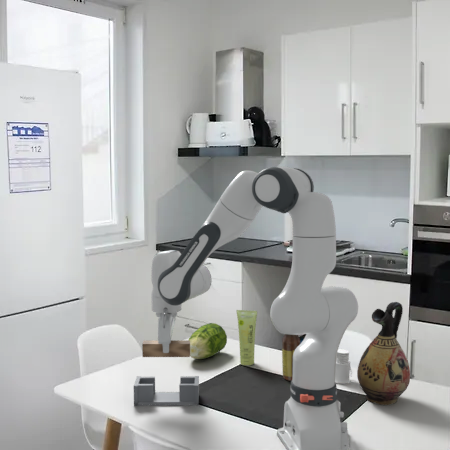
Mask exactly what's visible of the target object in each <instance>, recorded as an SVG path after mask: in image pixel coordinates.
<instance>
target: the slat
mask: <svg viewBox="0 0 450 450" xmlns="http://www.w3.org/2000/svg"><path fill="white" fill-rule="evenodd" d="M141 345H142V346H141V347H142V358H190V340H189V339H188V340H183V339H182V340H173V339H171V343H170V344H169V353H163V345H162V344H159V343H158V339H157V340H153V339H152V340H145V339H144V340H143V341H142V344H141Z"/></svg>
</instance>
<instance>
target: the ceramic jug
mask: <svg viewBox="0 0 450 450" xmlns="http://www.w3.org/2000/svg"><path fill="white" fill-rule="evenodd" d="M403 311H404V310H403V305H402V304H401V303H400V302H398V301H394V302H393V301H392V302H390V303H388V304H387V306H386V308H385V310H382V309H381V308H376V309H375V310H374V311H373V312H372V314H371V320H372V321H373V322H374V323H376V324H378V325H380V326H381V329H380V331H379V332H378V334H377V335H376V336H375V337H374V338H373V339H372V341H371V342H370V343H369V345H368V346H367V347H366V349H365V350H364V352H363V353H362V356H361V357H360V359H359V361H358V362H359V363H358V365H357V371H356V372H357V375H356V376H357V381H358V384H359V386H360V388H361V390H362V392H363V393H364V394H365V399H366V401H368V402H369V403H371V404H375V405H381V406H390V405H394V404H396V403H397V401H398V400H399V398H400V396H402V395H403V393H404V392H406V390H407V389H408V388H409V385H410V380H411V369H410V363H409V361H408V358H407V356H406V354H405V352H404V349H403V348H402V346H401V345H400V343H399V341H398V339H397V337H398V330H399V326H400V325H401V320H402V318H403V317H402V316H403ZM393 314H394V315H393Z"/></svg>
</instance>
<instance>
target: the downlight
mask: <svg viewBox="0 0 450 450" xmlns="http://www.w3.org/2000/svg"><path fill="white" fill-rule="evenodd" d="M349 358H350V351H349V350H348V349H342V348H338V351H337V356H336V368H335V383H336V384H342V385H343V384H344V385H346V384H351V382H352V380H351V378H352V376H353V372H352V368H351V361H350V359H349ZM350 377H351V378H350Z"/></svg>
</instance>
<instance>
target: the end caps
mask: <svg viewBox="0 0 450 450" xmlns="http://www.w3.org/2000/svg"><path fill="white" fill-rule="evenodd" d="M178 386H179V387H178V388H179V390H178V391H156V376H142V375H137V376H136V378H135V381H134V383H133V406H199V400H200V397H199V396H200V392H199V391H200V376H199V375H194V376H193V375H192V376H184V375H183V376H180V380H179V385H178Z"/></svg>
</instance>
